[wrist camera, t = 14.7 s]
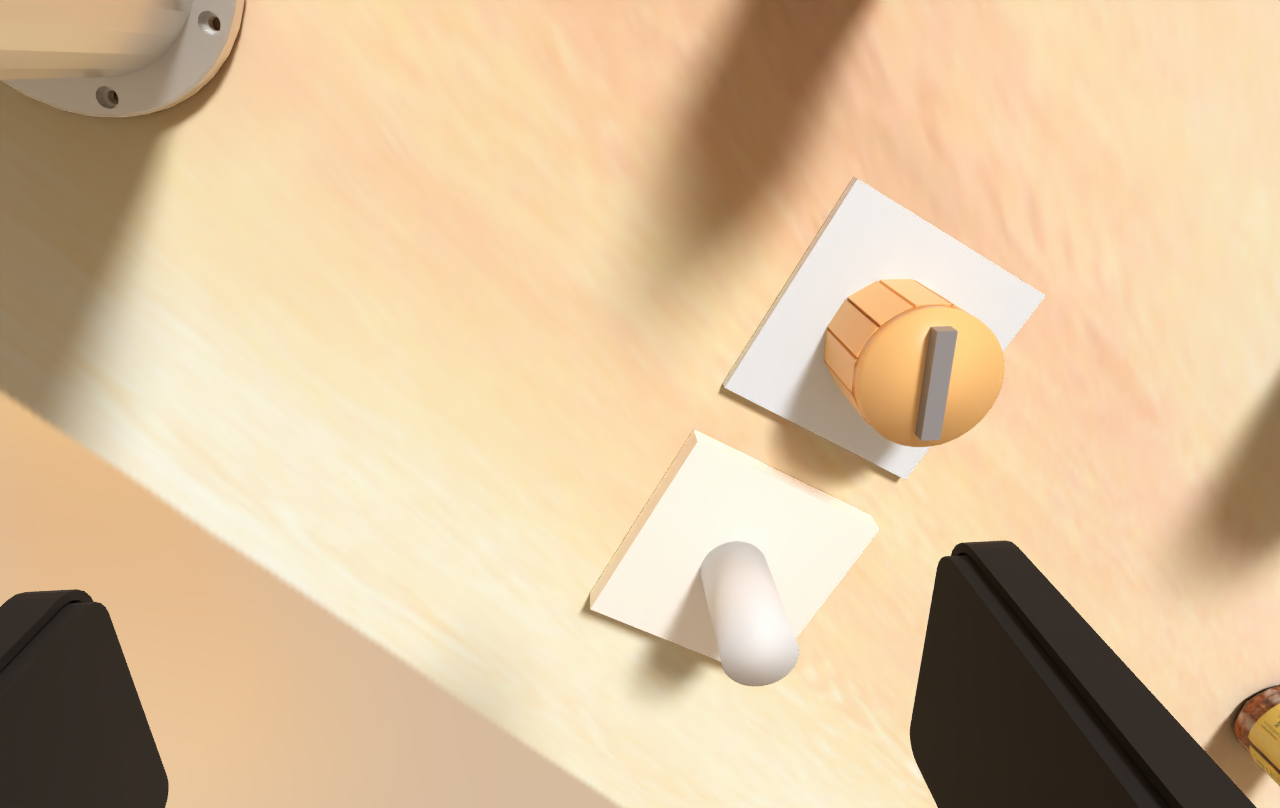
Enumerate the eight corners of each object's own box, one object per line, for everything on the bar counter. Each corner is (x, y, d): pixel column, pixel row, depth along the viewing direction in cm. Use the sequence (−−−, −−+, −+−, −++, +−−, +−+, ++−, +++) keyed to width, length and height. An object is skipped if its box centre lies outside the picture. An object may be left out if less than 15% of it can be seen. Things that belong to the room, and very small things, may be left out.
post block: (589, 592, 45) (592, 701, 38) (693, 429, 42) (719, 511, 34) (759, 662, 48) (793, 775, 41) (870, 515, 45) (931, 609, 37)
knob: (830, 280, 38) (874, 318, 33) (959, 277, 39) (1025, 313, 33) (819, 403, 41) (858, 457, 35) (940, 398, 41) (998, 451, 36)
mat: (722, 383, 41) (724, 387, 40) (853, 177, 37) (857, 178, 36) (901, 474, 44) (905, 479, 43) (1039, 292, 40) (1045, 295, 39)
